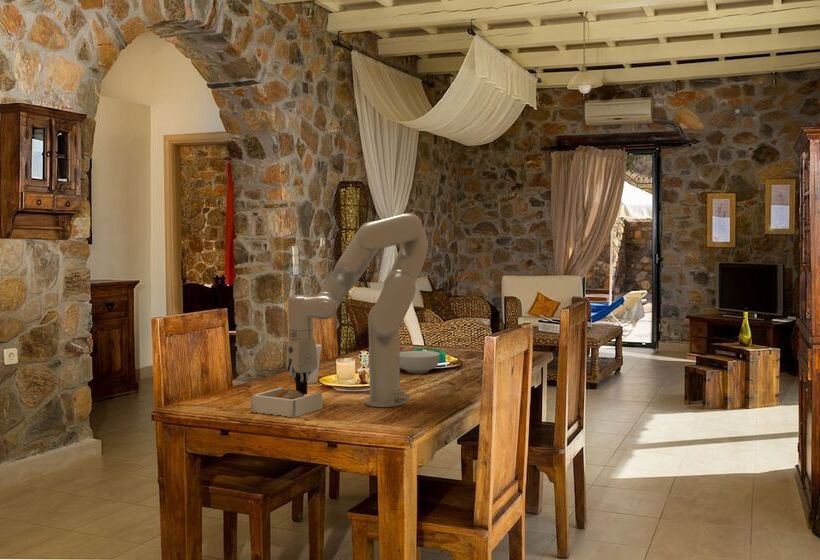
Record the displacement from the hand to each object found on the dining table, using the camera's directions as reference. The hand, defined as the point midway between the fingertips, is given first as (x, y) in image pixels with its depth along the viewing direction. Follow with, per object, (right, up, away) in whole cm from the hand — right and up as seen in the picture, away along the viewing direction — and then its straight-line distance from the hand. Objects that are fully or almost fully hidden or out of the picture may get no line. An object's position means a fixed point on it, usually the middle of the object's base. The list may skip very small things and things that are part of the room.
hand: (301, 393), depth 259 cm
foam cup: (-3, -1, +40) cm, 40 cm away
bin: (-4, -4, -6) cm, 8 cm away
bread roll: (-3, -4, -4) cm, 7 cm away
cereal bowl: (+36, 0, +59) cm, 69 cm away
